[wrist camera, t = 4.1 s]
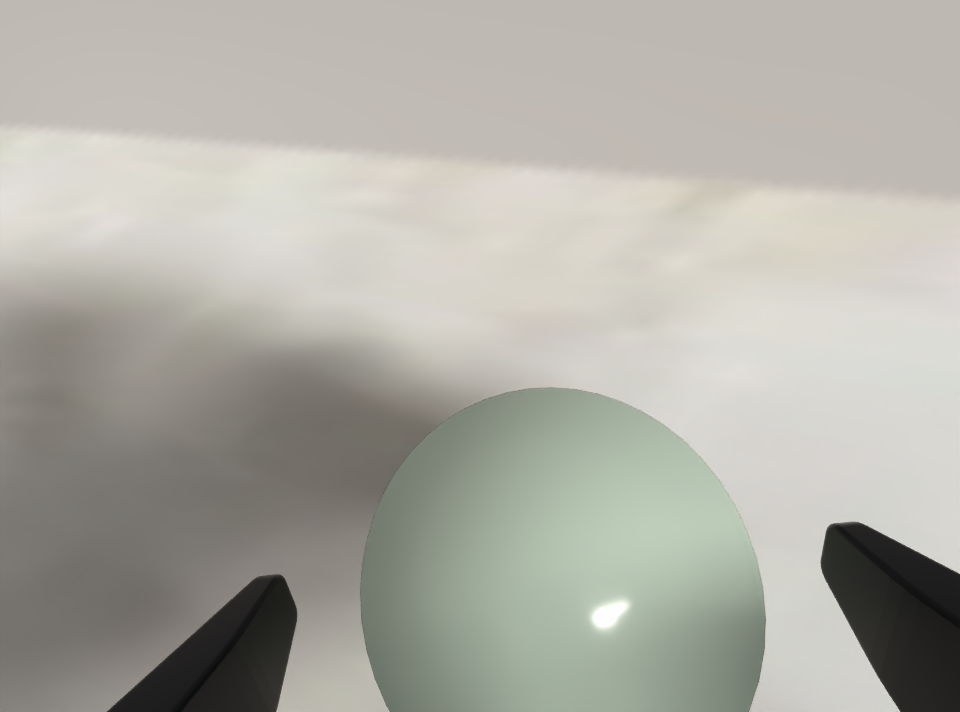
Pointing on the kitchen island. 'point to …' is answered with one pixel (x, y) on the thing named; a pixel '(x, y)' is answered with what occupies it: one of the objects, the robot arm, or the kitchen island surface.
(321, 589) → the kitchen island surface
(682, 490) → the mint tapered capsule
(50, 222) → the kitchen island surface
